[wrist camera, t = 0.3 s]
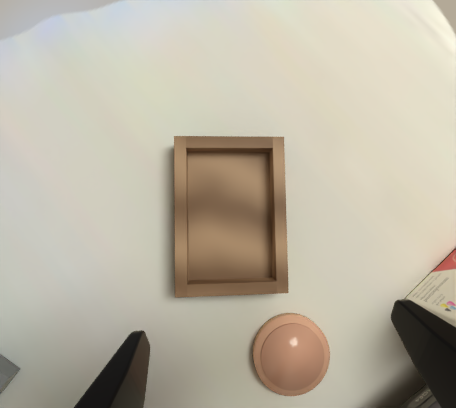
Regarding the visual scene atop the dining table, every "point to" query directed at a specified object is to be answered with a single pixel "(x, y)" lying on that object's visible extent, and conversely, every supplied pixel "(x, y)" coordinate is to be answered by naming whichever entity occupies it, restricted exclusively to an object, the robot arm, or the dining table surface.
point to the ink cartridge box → (439, 291)
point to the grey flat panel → (6, 372)
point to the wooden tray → (230, 216)
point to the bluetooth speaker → (421, 400)
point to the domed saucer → (291, 354)
